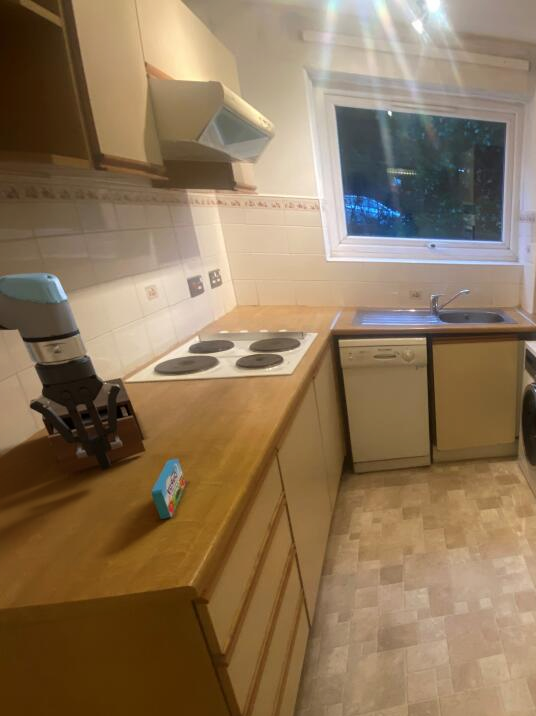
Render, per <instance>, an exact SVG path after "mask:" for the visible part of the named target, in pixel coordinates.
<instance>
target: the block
mask: <svg viewBox="0 0 536 716" xmlns="http://www.w3.org/2000/svg"><path fill="white" fill-rule="evenodd" d="M98 413H99V416H100V418H101V421H102V423H103V422H107V421H108V415H107V412H106V411H102V412H98ZM81 418H82V420H83V423H84V425H85V427H87V426H91V425H93V422H92V420H91V417H90V415H85V416H81Z"/></svg>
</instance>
